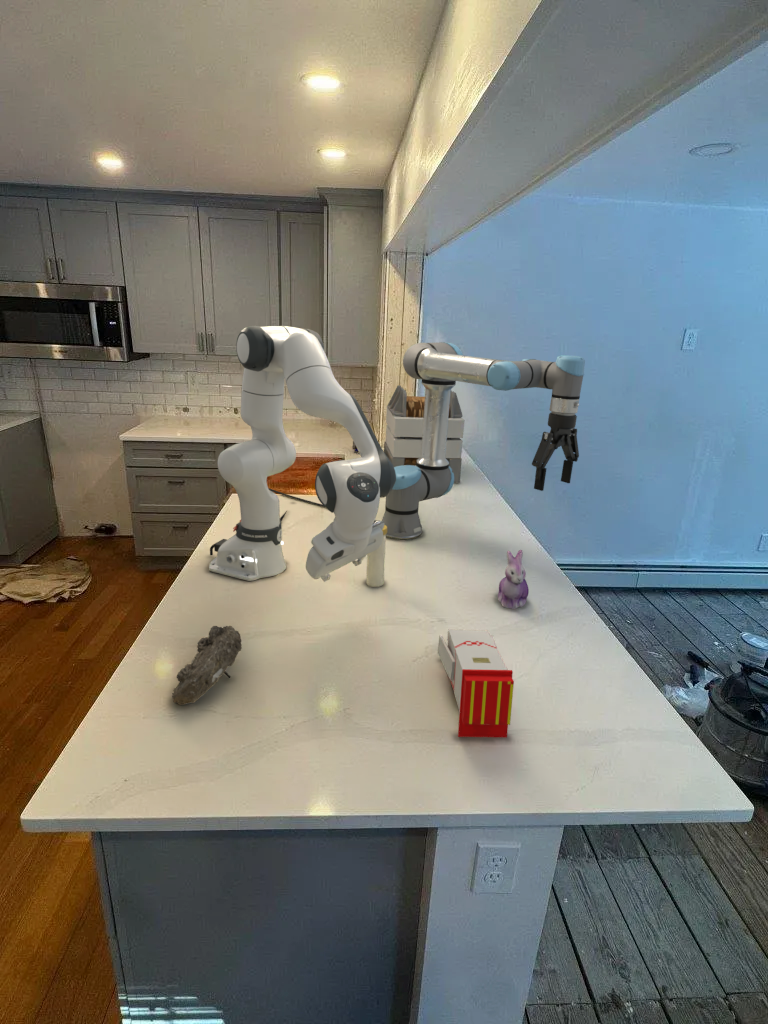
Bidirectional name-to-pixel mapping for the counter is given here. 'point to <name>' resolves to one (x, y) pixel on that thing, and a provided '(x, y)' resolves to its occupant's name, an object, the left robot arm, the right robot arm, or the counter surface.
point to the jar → (376, 565)
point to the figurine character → (354, 447)
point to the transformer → (419, 431)
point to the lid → (384, 529)
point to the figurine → (513, 583)
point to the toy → (478, 682)
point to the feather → (282, 516)
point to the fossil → (207, 664)
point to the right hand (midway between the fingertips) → (552, 485)
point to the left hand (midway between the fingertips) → (340, 570)
